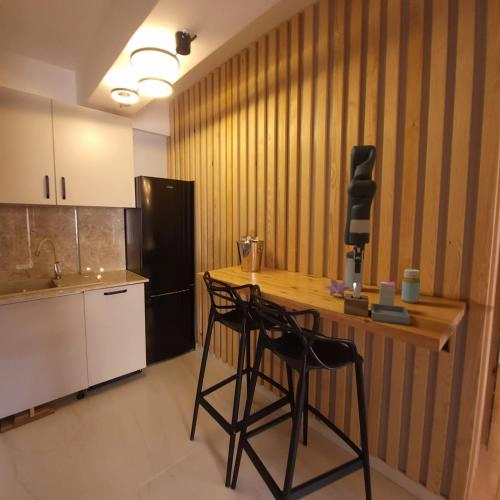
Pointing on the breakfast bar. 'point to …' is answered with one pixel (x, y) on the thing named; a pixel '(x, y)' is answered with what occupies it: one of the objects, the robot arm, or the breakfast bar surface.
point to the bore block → (356, 305)
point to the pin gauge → (356, 290)
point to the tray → (389, 314)
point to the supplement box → (387, 292)
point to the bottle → (411, 286)
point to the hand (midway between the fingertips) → (357, 271)
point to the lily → (338, 287)
